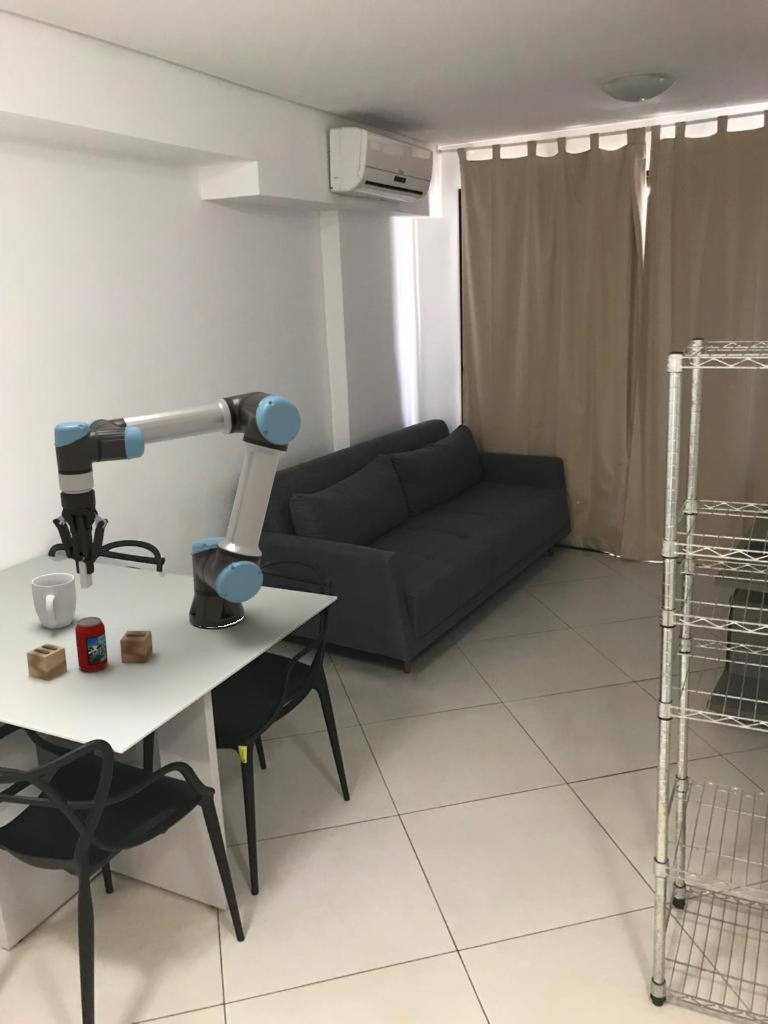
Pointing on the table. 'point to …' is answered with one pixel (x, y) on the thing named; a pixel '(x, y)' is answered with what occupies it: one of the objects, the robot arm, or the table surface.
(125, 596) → the table surface
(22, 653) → the table surface
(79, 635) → the beverage can
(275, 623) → the table surface
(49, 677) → the wooden equals sign cube
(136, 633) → the wooden minus sign cube
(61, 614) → the mug
